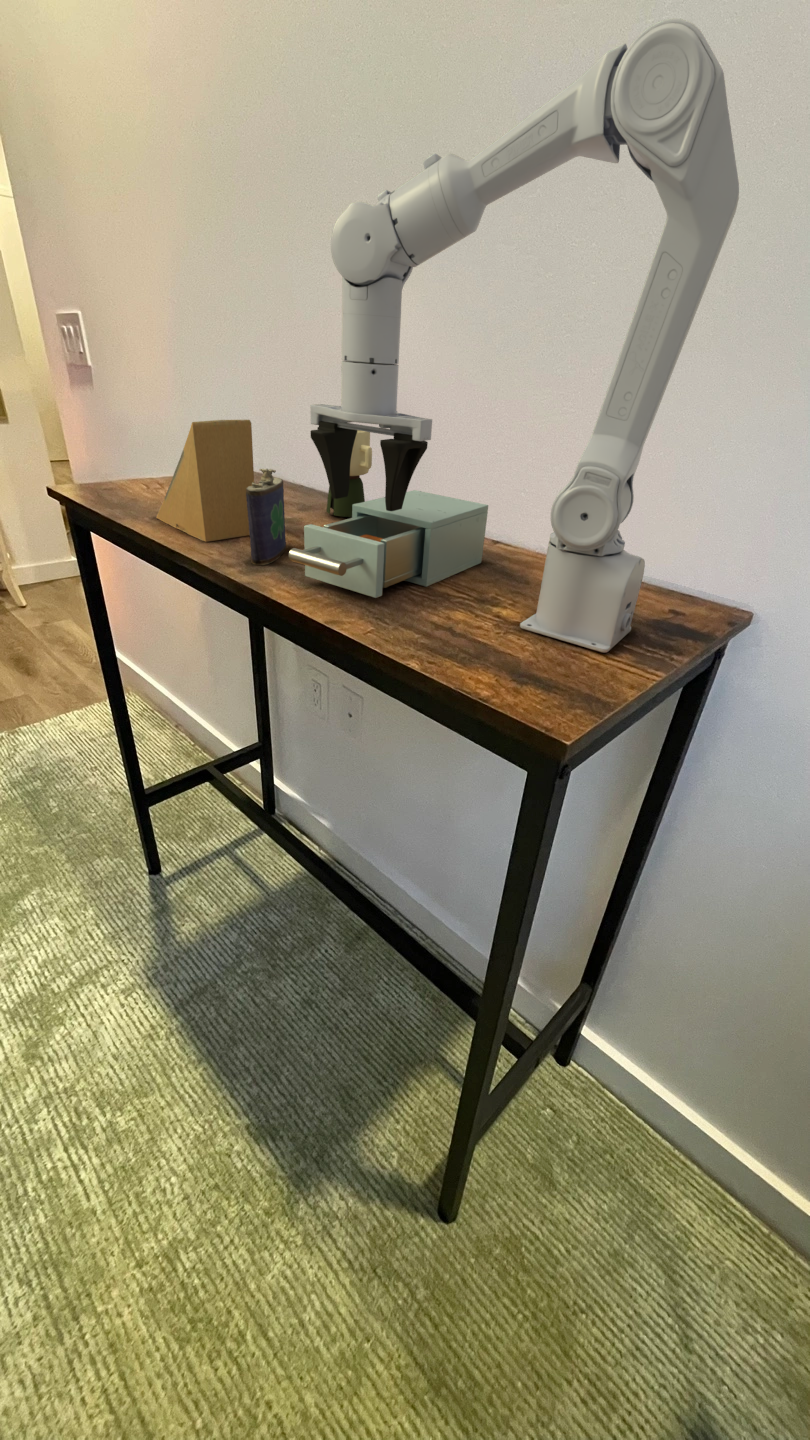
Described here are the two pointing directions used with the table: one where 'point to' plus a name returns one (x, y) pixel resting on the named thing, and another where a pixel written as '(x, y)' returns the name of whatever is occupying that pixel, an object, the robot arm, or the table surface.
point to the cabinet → (438, 531)
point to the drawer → (362, 553)
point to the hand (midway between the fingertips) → (366, 503)
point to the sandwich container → (212, 481)
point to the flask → (266, 518)
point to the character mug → (354, 477)
